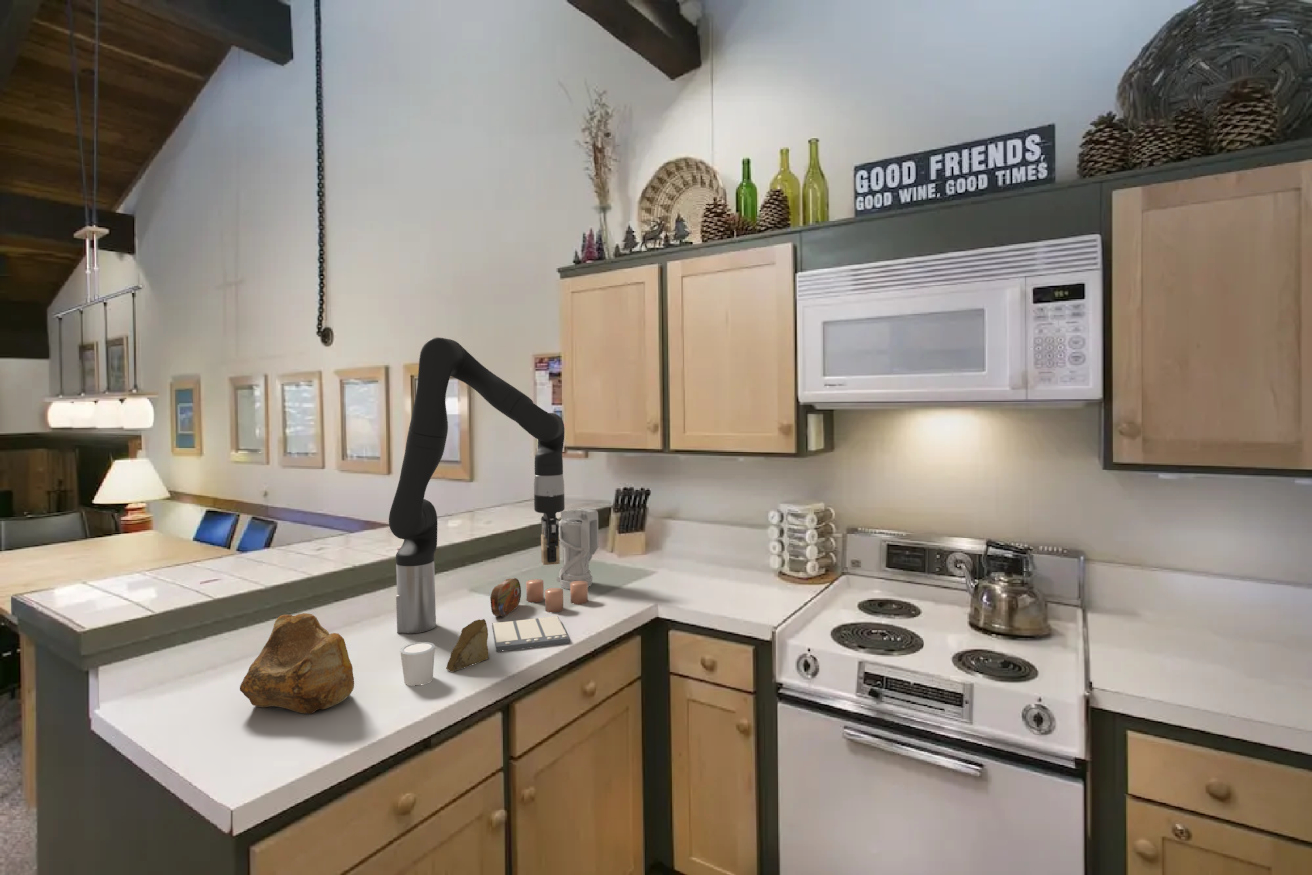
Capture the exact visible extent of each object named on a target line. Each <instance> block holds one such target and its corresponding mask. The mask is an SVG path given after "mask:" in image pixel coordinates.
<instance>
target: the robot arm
mask: <svg viewBox="0 0 1312 875" xmlns="http://www.w3.org/2000/svg"><path fill="white" fill-rule="evenodd" d="M418 359H419V360H418V372H417V373H418V374H417V385H416V393H415V398H414V402H413V408H412V413H411V418H410V423H409V427H408V431H407V438H406V443H405V447H404V448H405V449H404V456H403V460H402V464H401V469H400V475H399V480H398V484H397V488H396V492H395V494H394V497H393V500H392V504H391V508H390V511H389V513H388V514H389V515H388V526H389V530H390V531H391V533H392V534H393V536H395V537H396V538H398V539H401V540H403V543H402V544H401V547H400V548H399V550H398V551H397V552H396V554H395V570H396V596H395V600H396V601H395V602H396V603H395V604H396V606H395V607H396V630H397V631H396V633H397V634H418V633H423V632H427V631H430V630H432V629H434V628H435V627H436V625H437V613H436V609H437V608H436V607H437V606H436V582H435V581H436V580H435V579H436V578H435V572H436V571H435V553H436V551H437V548H438V546H437V545H438V514H437V511H436V508H435V506H434V504H432V502H431V501H429V500H428V499H426V498H425V494H426V490H427V487H428V484H429V482H430V480H431V479H432V476H433V474H434V473H435V471H436V470H437V468H438V466H439V464H440V463H441V460H442V457H443V455H444V453H445V448H446V443H447V438H448V431H449V422H448V415H447V414H448V413H447V405H446V396H447V390H448V385H449V381H450V378H451V377H452V378H454V379H456V380H458V381H461V382H462V383H464V384H466V385H468V386H469V387H470V388H472V389H473V390H474V391H476V392H477V393H478V394H479V395H480V396H481V397H482V398H483V399H484V400H485V401H486V402H487V403H488V404H489V405H490V406H492V407H493V408H494V409H496V411H499V412H500V413H502V414H503V415H504V416H506V417H507V418H509V419H511V420H512V421H514V422H516V423H517V424H518V425H519V426H520V427H521V428H522V429H523V430H524V431H525V432H526V433H528V434H529V435H531V436H532V437H533V438H535V439H537V452H536V453H535V455H534V480H533V481H534V482H533V500H534V501H533V502H534V504H533V506H534V507H533V510H534V512H536V513H539V514H543V516H541V518H540V524H541V534H544V537H545V538H546V543H547V544H546V546H547V561H548V562H549V563H550V562H556V547H557V546H558V535H559V521H560V520H559V519H558V518H557V513H561V512H563V511H565V503H566V502H565V479H564V460H563V452H564V443H565V423H564V420H563V419H562V417H561V416H559V415H558V414H556V413H554V412H548V411H546V410H544V409H543V408H542V407H540V406H538V405H537V404H536V403H534V401H533V399H531V398H530V397H529V396H528V395H527V394H525V393H523V392H522V391H521V390H519V389H517V388H516V387H514V386H513V385H511V384H510V383H509V382H507V381H506V380H504V379H503V378H501V377H500V376H498V375H496V374H495V373H493V372H492V371H490V370H489V369H488V368H486V367H485V366H484V365H483V364H482V363H480V362H479V361H478V360H477V359H476V358H475V357H474V356H473V355H472V354H471V353H469V351H468V350H467V349H465V348H464V347H463V346H462V345H461V344H460V343H459V342H458V341H456V340H453V339H450V338H446V337H438V336H437V337H432V338H430V339H428V340H427V341H426V342H425V343H424V344H423V346H422V347H421V349H420V353H419V358H418ZM552 538H554V541H551V542H550V539H552Z"/></svg>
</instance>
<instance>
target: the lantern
mask: <svg viewBox="0 0 1312 875" xmlns="http://www.w3.org/2000/svg"><path fill="white" fill-rule="evenodd" d="M560 518H561V519H560V520H559V534H558V535H559V545H560V546H562V567H561V568H560V569H559V574H558V575H559V576H558V577H556V581H557V582H558V583H560V588H561V589H564V588H565V590H570V583H571V582H574V581H586V582H588V588H590V587H592V583H593V575H591V570H590V569H589V566H590V565H589V564H590V562H591V560H592V559H593V555H595V554H596V552H597V551H598V549H599V545H600V544H599V541H600V540H599V538H600V537H599V512H598V508H597V507H593V508H592V507H582V508H575V509H568V510H563V511H562V512H560ZM589 586H590V587H589Z"/></svg>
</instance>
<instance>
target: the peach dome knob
mask: <svg viewBox="0 0 1312 875" xmlns="http://www.w3.org/2000/svg"><path fill="white" fill-rule="evenodd" d="M544 601H545V604H544V605H545V606H544V607H545V608H544V609H545V612H546V613H550V612H556V613H561V612H563V611H564V588H562V587H560V588H559V587H550V588H547V589H545V590H544Z"/></svg>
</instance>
